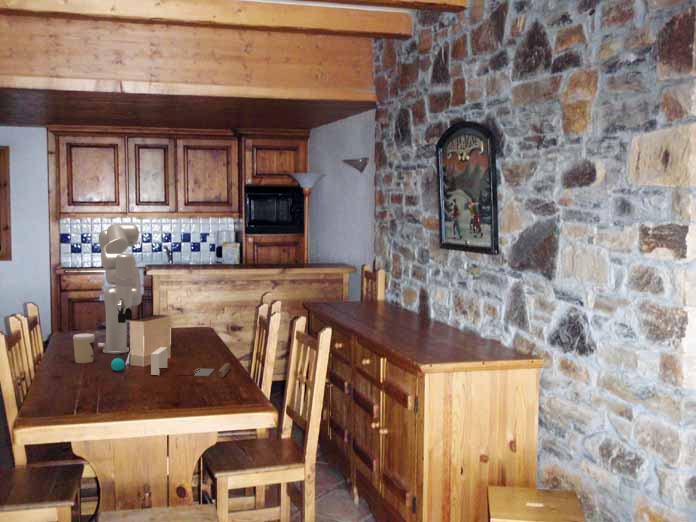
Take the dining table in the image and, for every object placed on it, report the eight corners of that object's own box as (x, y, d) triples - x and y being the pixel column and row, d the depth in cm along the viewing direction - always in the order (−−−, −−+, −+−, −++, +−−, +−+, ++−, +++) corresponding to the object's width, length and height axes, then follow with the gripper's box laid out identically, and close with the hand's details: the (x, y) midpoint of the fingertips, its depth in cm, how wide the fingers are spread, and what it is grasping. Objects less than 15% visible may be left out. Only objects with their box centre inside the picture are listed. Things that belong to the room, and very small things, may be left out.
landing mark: (177, 375, 308) (177, 375, 308) (184, 368, 321) (184, 368, 321) (208, 376, 307) (208, 375, 307) (214, 369, 320) (214, 368, 320)
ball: (109, 372, 312) (109, 359, 311) (113, 369, 317) (113, 356, 317) (122, 372, 312) (121, 359, 311) (126, 369, 317) (126, 356, 317)
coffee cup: (95, 362, 329) (95, 336, 328) (73, 364, 326) (73, 337, 325) (94, 358, 338) (94, 332, 337) (73, 359, 334) (72, 333, 334)
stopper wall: (218, 377, 306) (218, 371, 306) (225, 368, 322) (225, 363, 322) (223, 377, 306) (223, 371, 306) (229, 368, 322) (229, 363, 322)
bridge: (151, 375, 307) (151, 353, 306) (160, 367, 322) (160, 347, 321) (158, 375, 307) (158, 354, 306) (167, 367, 321) (167, 347, 321)
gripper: (121, 280, 329) (122, 318, 331) (110, 284, 312) (110, 324, 313) (138, 280, 330) (138, 318, 331) (127, 284, 312) (128, 324, 313)
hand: (125, 321), depth 322 cm, fingers open, 9 cm apart
